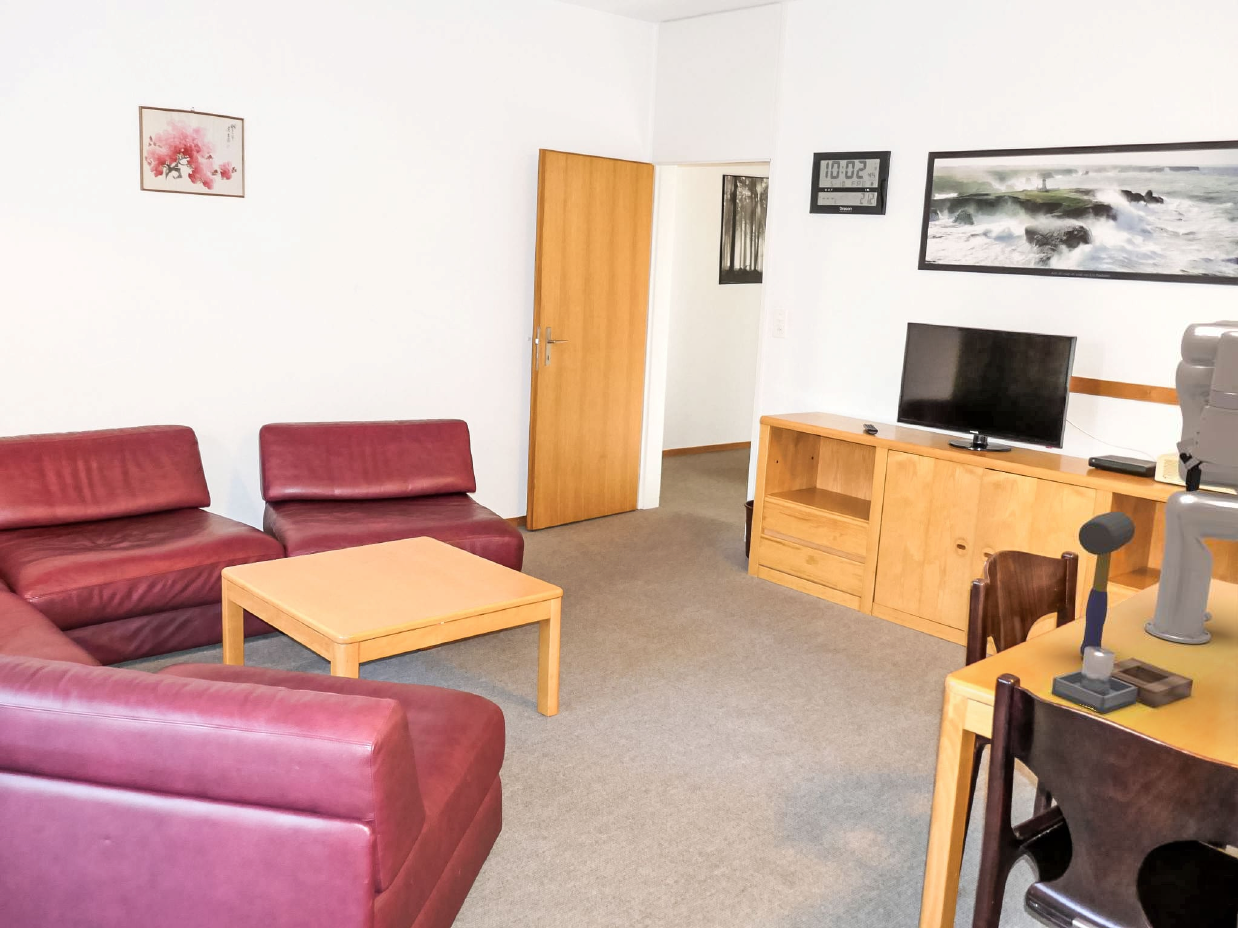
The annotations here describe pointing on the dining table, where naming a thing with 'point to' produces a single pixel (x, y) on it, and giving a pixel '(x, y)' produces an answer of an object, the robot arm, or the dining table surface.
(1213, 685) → the dining table surface
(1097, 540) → the rubber mallet
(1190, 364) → the robot arm
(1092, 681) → the steel peg
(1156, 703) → the holder block
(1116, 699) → the tray
